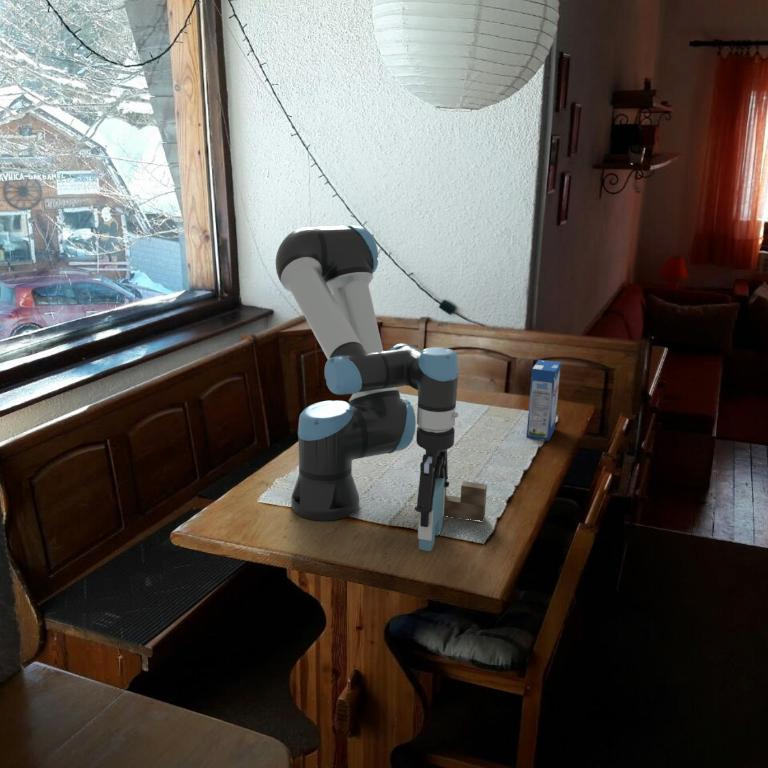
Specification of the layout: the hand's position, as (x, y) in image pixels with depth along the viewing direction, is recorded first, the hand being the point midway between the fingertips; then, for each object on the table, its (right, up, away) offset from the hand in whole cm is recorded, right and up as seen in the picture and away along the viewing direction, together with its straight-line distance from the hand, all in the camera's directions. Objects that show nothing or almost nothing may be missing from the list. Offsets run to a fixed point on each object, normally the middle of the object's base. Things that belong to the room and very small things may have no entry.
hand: (431, 526), depth 165 cm
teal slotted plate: (0, -3, +1) cm, 3 cm away
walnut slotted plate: (+5, +1, +11) cm, 12 cm away
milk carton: (+35, +15, +61) cm, 72 cm away
